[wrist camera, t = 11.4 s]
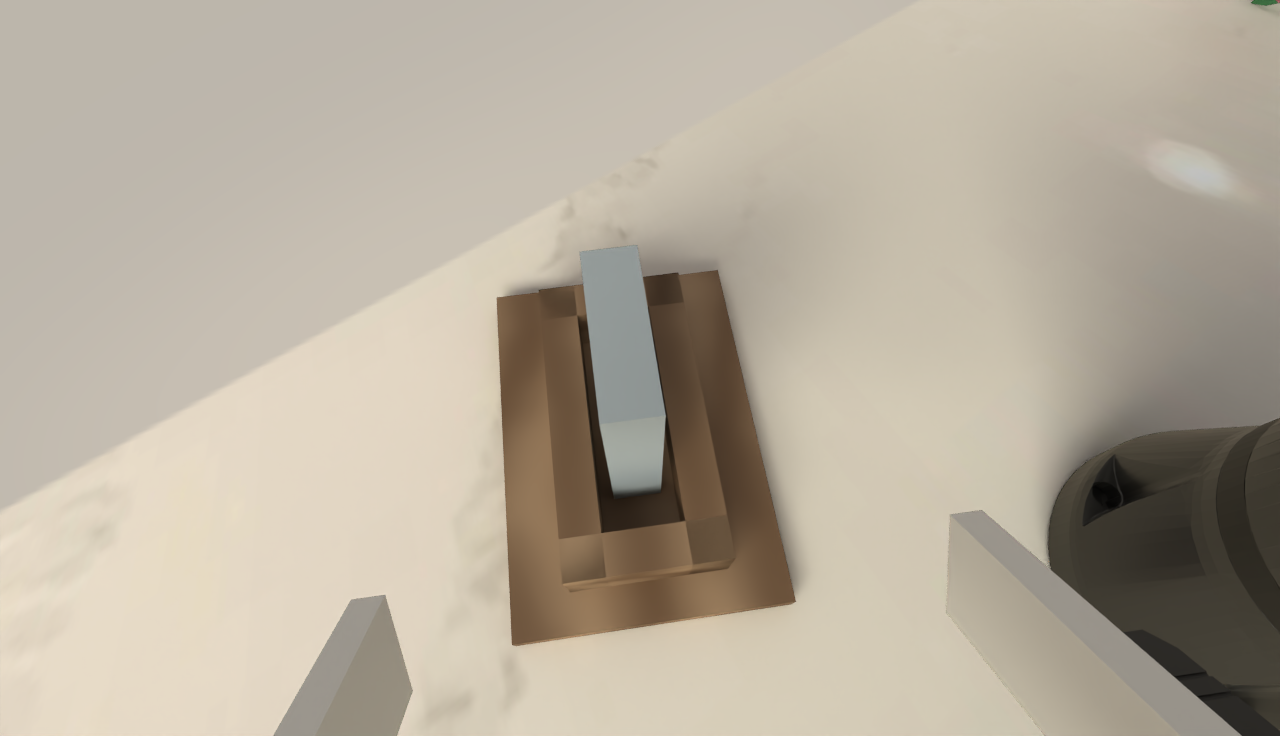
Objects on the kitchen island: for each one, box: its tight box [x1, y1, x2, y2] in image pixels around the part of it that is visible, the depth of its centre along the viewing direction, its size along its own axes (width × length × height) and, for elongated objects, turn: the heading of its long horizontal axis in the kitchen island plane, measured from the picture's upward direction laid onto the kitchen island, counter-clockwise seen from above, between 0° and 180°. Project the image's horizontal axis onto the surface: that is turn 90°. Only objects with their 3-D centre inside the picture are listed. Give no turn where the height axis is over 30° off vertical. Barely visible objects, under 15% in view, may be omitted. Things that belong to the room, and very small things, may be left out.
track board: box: [497, 270, 796, 646], centre depth 34 cm, size 14×20×4 cm
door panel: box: [580, 245, 666, 499], centre depth 30 cm, size 2×8×11 cm, turn 8°
